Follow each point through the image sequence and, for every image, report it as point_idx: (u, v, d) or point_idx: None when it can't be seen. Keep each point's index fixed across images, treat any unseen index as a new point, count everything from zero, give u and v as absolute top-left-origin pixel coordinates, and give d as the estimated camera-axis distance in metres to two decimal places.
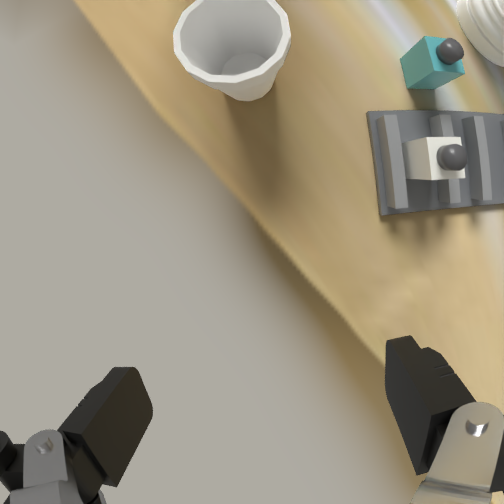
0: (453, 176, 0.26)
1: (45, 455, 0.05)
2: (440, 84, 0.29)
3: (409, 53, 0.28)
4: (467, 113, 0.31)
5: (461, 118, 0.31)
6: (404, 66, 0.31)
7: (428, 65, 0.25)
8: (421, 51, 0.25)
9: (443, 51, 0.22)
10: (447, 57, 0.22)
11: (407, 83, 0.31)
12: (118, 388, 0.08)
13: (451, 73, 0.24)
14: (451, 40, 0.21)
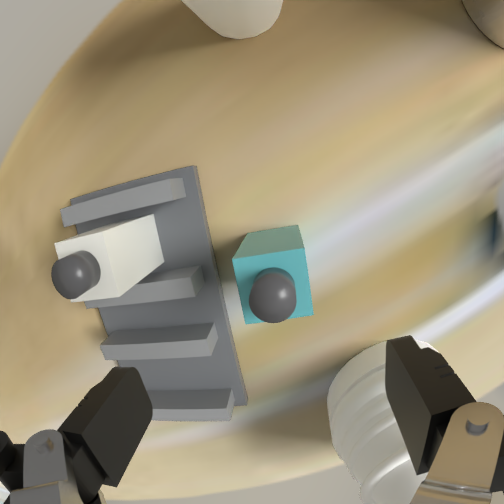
0: None
1: (45, 455, 0.05)
2: None
3: (294, 232, 0.22)
4: (226, 333, 0.27)
5: (214, 323, 0.27)
6: (281, 229, 0.25)
7: (249, 252, 0.19)
8: (280, 245, 0.19)
9: (263, 277, 0.16)
10: (254, 285, 0.17)
11: (253, 232, 0.25)
12: (118, 388, 0.08)
13: None
14: (291, 298, 0.16)
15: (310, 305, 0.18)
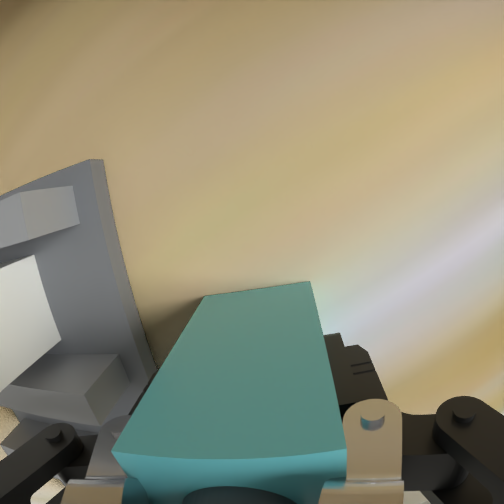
0: None
1: None
2: None
3: (306, 319, 0.09)
4: None
5: None
6: (274, 293, 0.11)
7: (167, 423, 0.05)
8: (266, 396, 0.06)
9: None
10: None
11: (215, 297, 0.12)
12: None
13: None
14: None
15: None
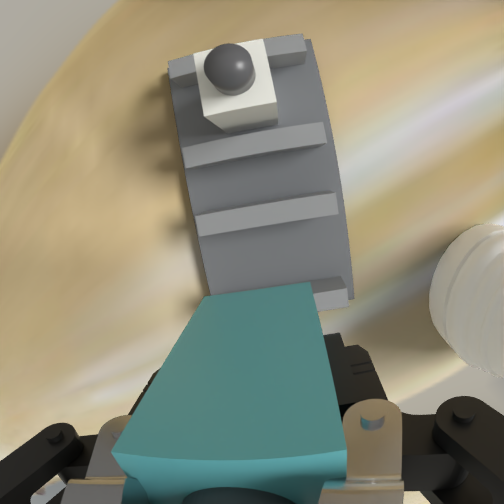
0: (204, 91, 0.16)
1: None
2: None
3: (306, 319, 0.09)
4: (340, 203, 0.25)
5: (329, 191, 0.25)
6: (274, 294, 0.11)
7: (167, 424, 0.05)
8: (267, 397, 0.06)
9: None
10: None
11: (215, 298, 0.12)
12: None
13: None
14: None
15: None
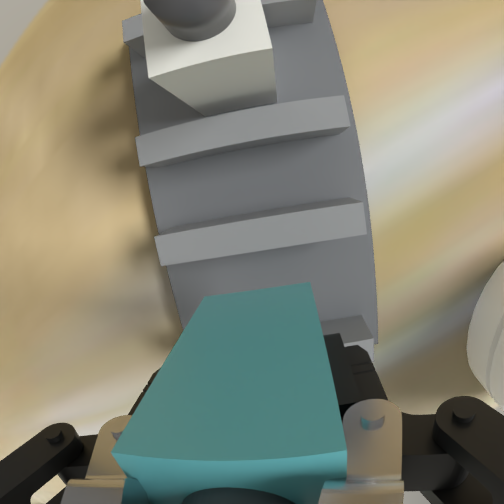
0: (150, 39, 0.09)
1: None
2: None
3: (306, 320, 0.09)
4: (365, 216, 0.17)
5: (350, 198, 0.17)
6: (274, 294, 0.11)
7: (167, 424, 0.05)
8: (266, 397, 0.06)
9: None
10: None
11: (215, 298, 0.12)
12: None
13: None
14: None
15: None
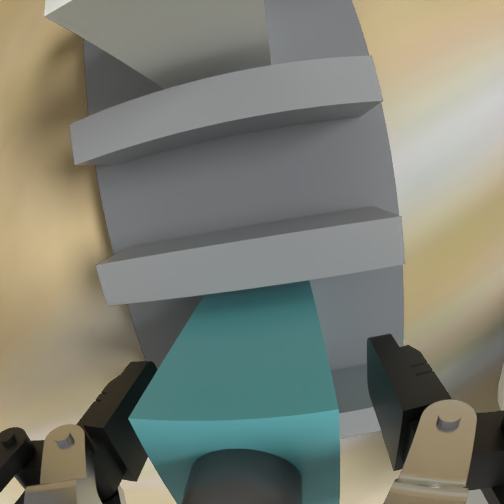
0: None
1: (67, 450, 0.05)
2: None
3: (303, 305, 0.10)
4: None
5: (374, 208, 0.12)
6: None
7: (179, 393, 0.06)
8: (268, 369, 0.07)
9: None
10: None
11: None
12: (137, 382, 0.09)
13: None
14: None
15: (334, 503, 0.06)
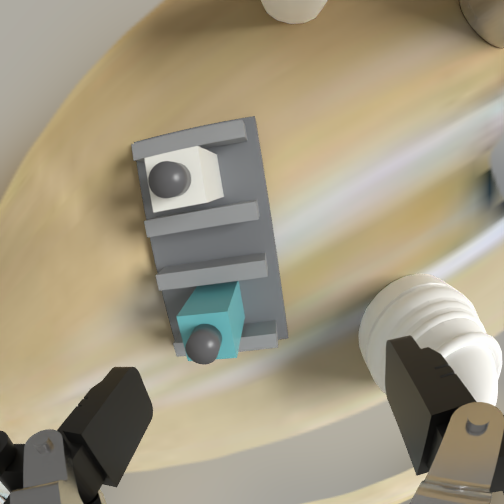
0: (152, 192, 0.22)
1: (45, 455, 0.05)
2: None
3: (230, 290, 0.28)
4: (275, 263, 0.31)
5: (265, 253, 0.31)
6: (224, 283, 0.31)
7: (189, 310, 0.25)
8: (214, 305, 0.25)
9: (195, 333, 0.22)
10: (189, 338, 0.23)
11: None
12: (118, 388, 0.08)
13: None
14: (214, 349, 0.22)
15: (234, 350, 0.24)
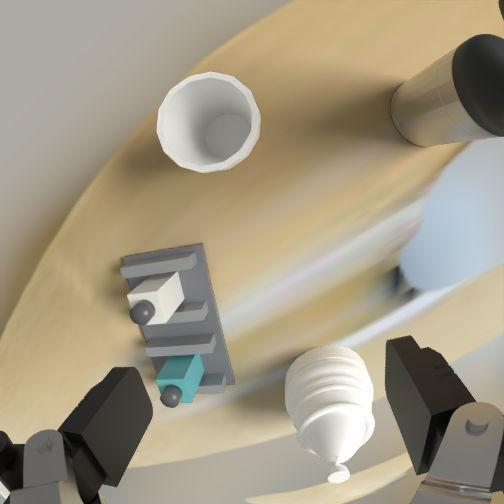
0: None
1: (45, 455, 0.05)
2: None
3: (190, 359, 0.43)
4: (221, 339, 0.45)
5: (214, 333, 0.45)
6: None
7: (163, 375, 0.39)
8: (177, 372, 0.40)
9: (165, 391, 0.37)
10: (162, 393, 0.37)
11: None
12: (118, 388, 0.08)
13: None
14: (175, 400, 0.37)
15: (189, 399, 0.39)
